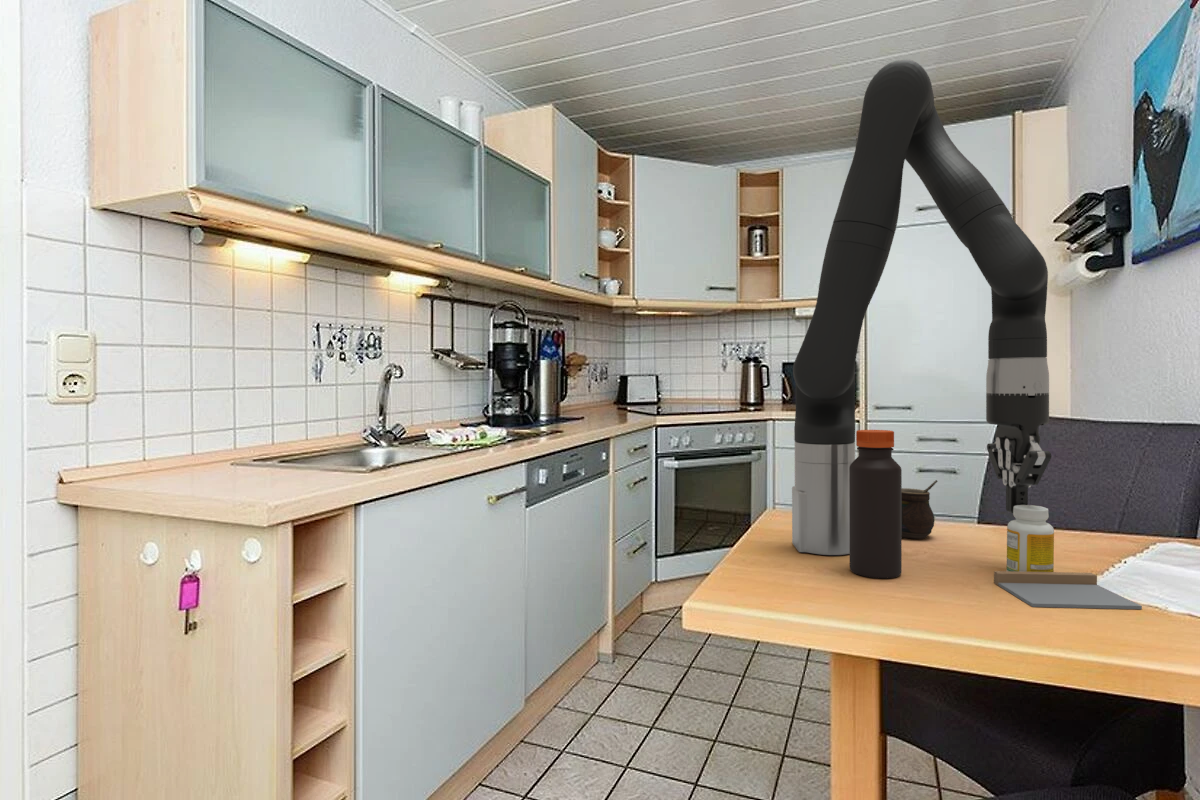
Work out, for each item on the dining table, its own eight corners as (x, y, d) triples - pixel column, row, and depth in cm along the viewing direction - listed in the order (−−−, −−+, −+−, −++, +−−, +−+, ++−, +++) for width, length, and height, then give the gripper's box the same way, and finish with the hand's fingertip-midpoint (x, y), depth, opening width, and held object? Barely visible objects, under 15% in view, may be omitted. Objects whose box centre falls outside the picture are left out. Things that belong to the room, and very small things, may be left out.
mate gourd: (883, 531, 119) (883, 475, 119) (927, 532, 118) (928, 476, 118) (895, 540, 112) (896, 481, 111) (942, 542, 111) (943, 482, 110)
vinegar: (861, 563, 98) (861, 428, 98) (909, 572, 93) (909, 430, 93) (841, 572, 93) (840, 431, 93) (889, 582, 88) (889, 433, 88)
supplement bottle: (1000, 576, 90) (1000, 507, 90) (1015, 569, 94) (1015, 502, 94) (1045, 586, 86) (1046, 512, 86) (1059, 577, 90) (1060, 507, 89)
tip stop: (1032, 606, 78) (1032, 593, 78) (993, 582, 88) (993, 570, 88) (1141, 609, 77) (1141, 595, 77) (1091, 584, 86) (1091, 572, 86)
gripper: (967, 390, 100) (967, 504, 101) (1013, 391, 87) (1013, 522, 87) (1019, 390, 99) (1019, 504, 100) (1074, 391, 86) (1073, 523, 87)
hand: (1016, 512), depth 94 cm, fingers closed
